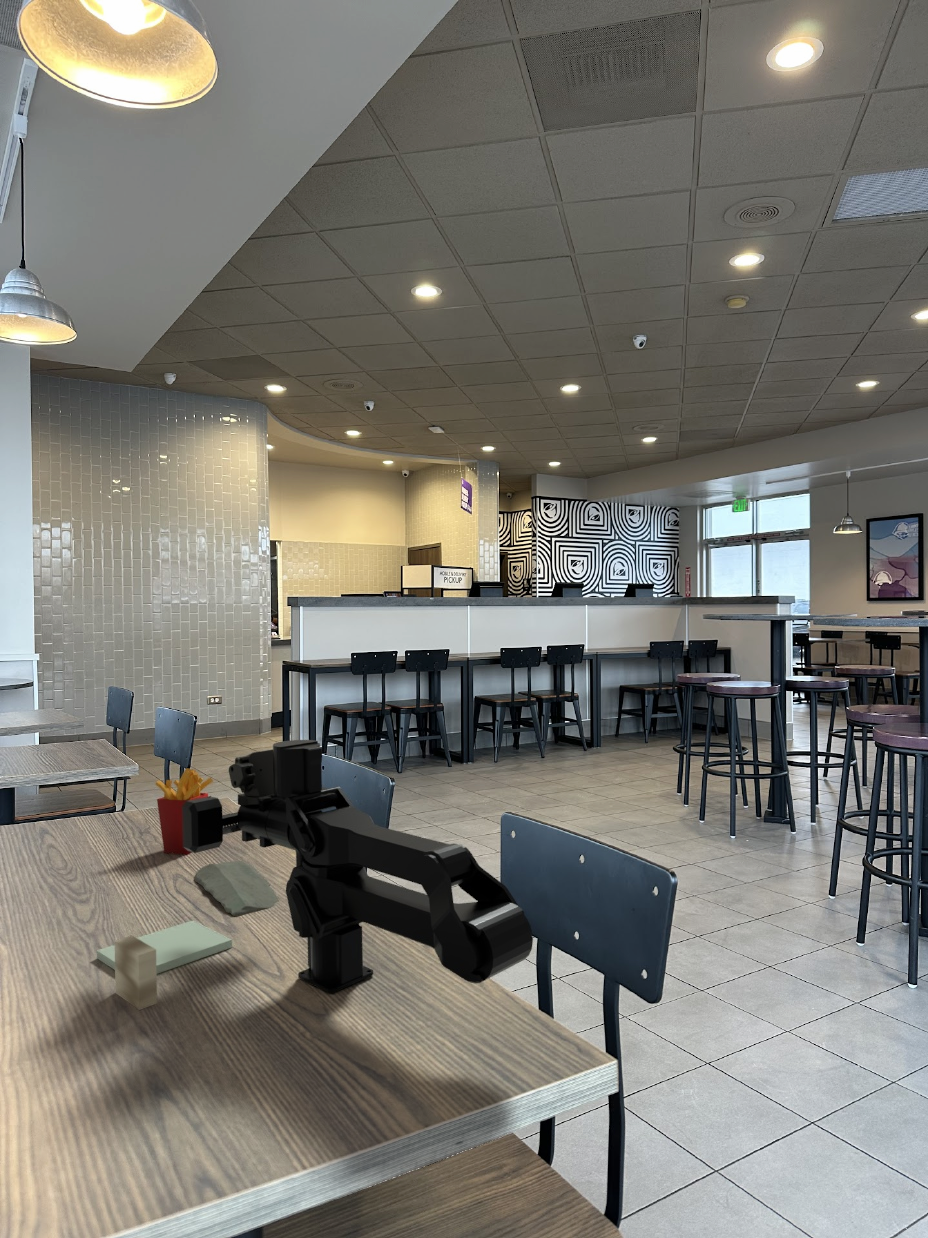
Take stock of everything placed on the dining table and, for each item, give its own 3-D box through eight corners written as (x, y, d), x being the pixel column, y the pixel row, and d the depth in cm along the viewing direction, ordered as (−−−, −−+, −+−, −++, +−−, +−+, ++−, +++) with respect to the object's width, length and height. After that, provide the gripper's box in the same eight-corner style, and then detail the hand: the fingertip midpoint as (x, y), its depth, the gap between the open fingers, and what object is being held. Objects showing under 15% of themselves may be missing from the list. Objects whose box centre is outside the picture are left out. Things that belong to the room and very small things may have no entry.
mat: (232, 947, 104) (231, 939, 104) (132, 982, 95) (132, 974, 95) (193, 927, 111) (193, 920, 111) (97, 958, 102) (97, 950, 102)
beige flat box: (157, 1003, 90) (156, 949, 90) (139, 1010, 88) (138, 955, 88) (133, 987, 94) (132, 935, 94) (115, 993, 92) (114, 940, 92)
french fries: (156, 854, 146) (154, 771, 146) (184, 841, 154) (183, 762, 154) (198, 857, 143) (196, 773, 143) (225, 844, 151) (223, 764, 151)
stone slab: (249, 874, 139) (189, 877, 133) (251, 858, 139) (191, 860, 134) (292, 917, 119) (224, 923, 114) (294, 899, 120) (227, 903, 115)
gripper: (342, 748, 109) (275, 738, 119) (216, 769, 95) (153, 755, 106) (344, 831, 109) (277, 813, 119) (218, 864, 95) (155, 841, 106)
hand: (219, 804), depth 112 cm, fingers open, 9 cm apart
